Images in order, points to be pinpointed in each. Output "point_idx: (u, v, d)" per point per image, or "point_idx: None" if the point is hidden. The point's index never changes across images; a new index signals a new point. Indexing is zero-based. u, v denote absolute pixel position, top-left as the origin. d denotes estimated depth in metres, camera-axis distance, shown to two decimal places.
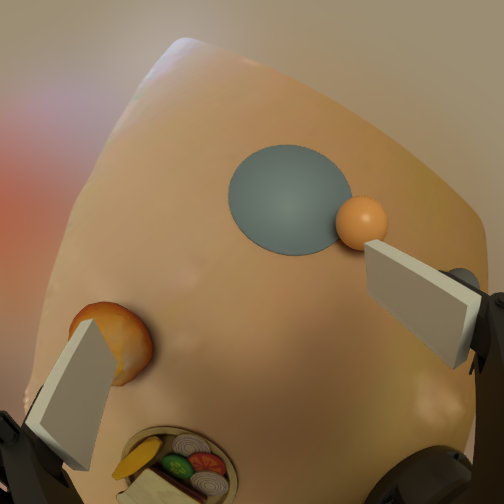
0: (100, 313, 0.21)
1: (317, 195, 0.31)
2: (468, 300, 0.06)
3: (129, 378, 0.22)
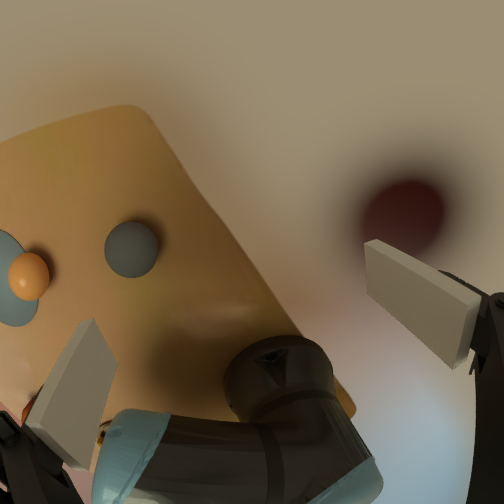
0: None
1: (6, 266, 0.26)
2: (468, 300, 0.06)
3: None
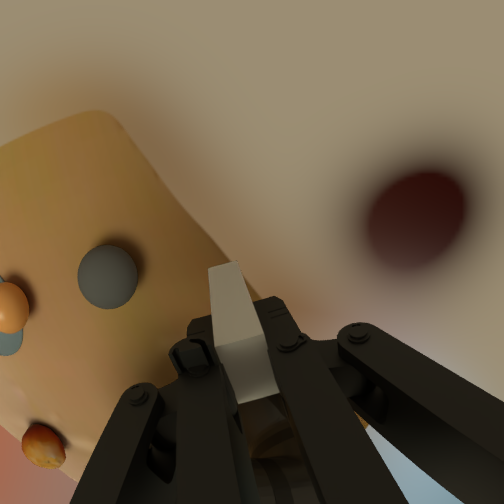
0: (25, 451, 0.23)
1: None
2: (245, 335, 0.08)
3: (61, 455, 0.27)
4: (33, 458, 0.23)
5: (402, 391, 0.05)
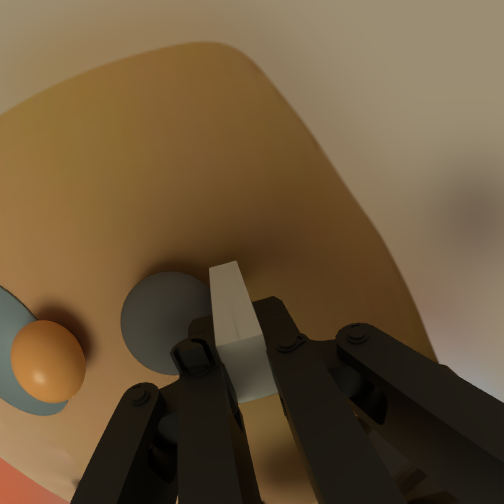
0: None
1: (7, 337, 0.15)
2: (244, 335, 0.08)
3: None
4: None
5: (401, 392, 0.05)
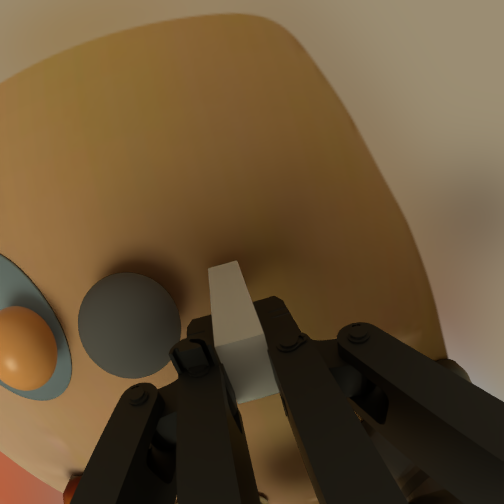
0: None
1: None
2: (245, 335, 0.08)
3: None
4: None
5: (402, 391, 0.05)
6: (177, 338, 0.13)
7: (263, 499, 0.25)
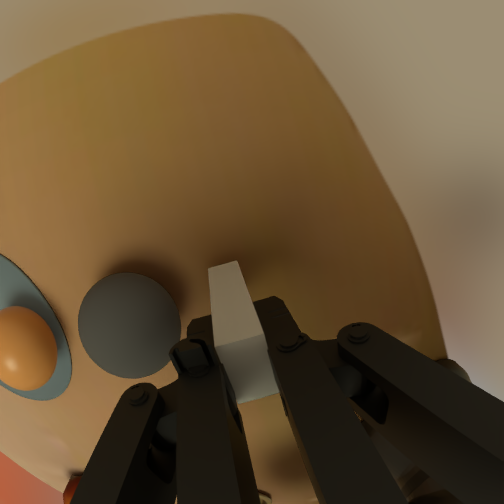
0: None
1: None
2: (245, 335, 0.08)
3: None
4: None
5: (402, 391, 0.05)
6: (177, 338, 0.13)
7: (266, 498, 0.25)
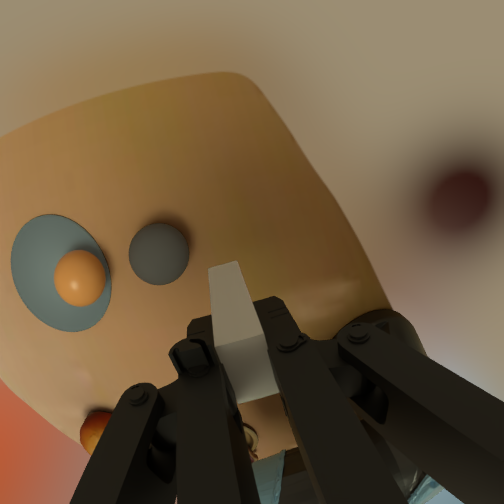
0: (87, 443, 0.26)
1: None
2: (245, 335, 0.08)
3: None
4: None
5: (402, 391, 0.05)
6: (187, 258, 0.24)
7: (252, 432, 0.37)
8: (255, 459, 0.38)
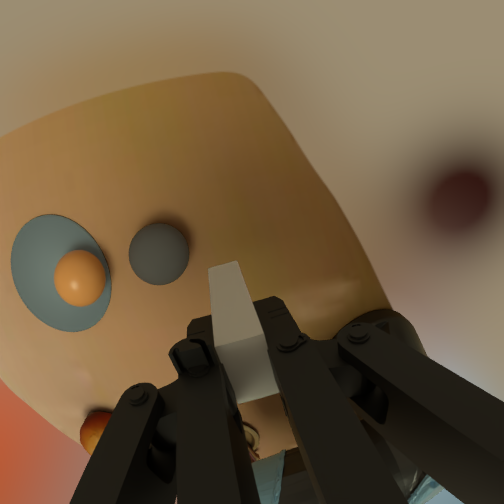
0: (87, 443, 0.26)
1: None
2: (245, 335, 0.08)
3: None
4: None
5: (402, 391, 0.05)
6: (187, 258, 0.24)
7: (253, 432, 0.37)
8: (257, 458, 0.38)
